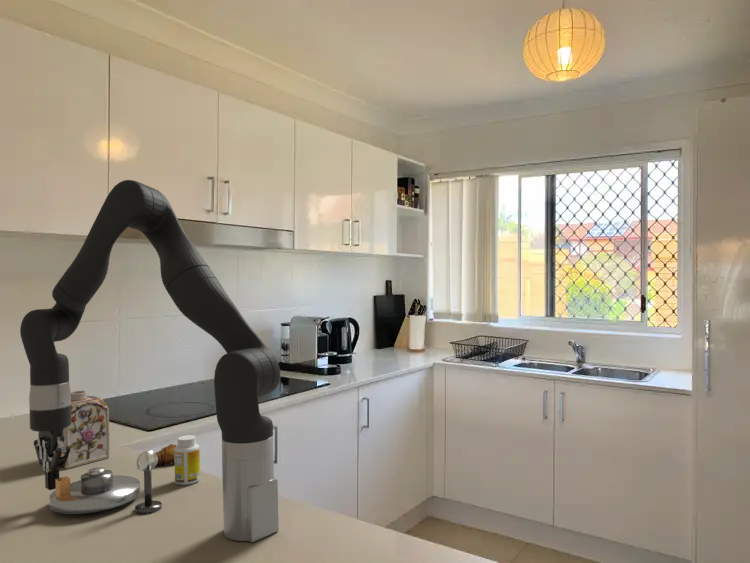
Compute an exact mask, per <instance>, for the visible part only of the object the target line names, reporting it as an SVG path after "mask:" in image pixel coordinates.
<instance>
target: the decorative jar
mask: <svg viewBox="0 0 750 563" xmlns="http://www.w3.org/2000/svg"><path fill="white" fill-rule="evenodd" d="M87 394H88V392H87V390H73V391H71V425H70V426H68V427H65V428H64V429H63V433H64V436H65V444H64V446H65V447H67V446H69V447H70V453H69V456H68V458H67V461H66V464H65V467H64V468H63V469H66V470H70V469H72V468H77V467H80V466H84V465H87V464H91V463H94V462H95V463H96V462H98V461H99V462H100V461H103V460H105V459H108V458H110V451H111V450H110V447H111V446H110V440H111V439H110V417H109V416H110V413H109V407H108V405H107V402H105V401H104V399H103V397H101V396H95V395H93V396H92V395H87Z"/></svg>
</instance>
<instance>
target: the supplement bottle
mask: <svg viewBox="0 0 750 563" xmlns="http://www.w3.org/2000/svg"><path fill="white" fill-rule="evenodd" d="M200 454H201V453H200V445H199V444H198V443H197V440H196V436H195V435H189V434H187V435H183V436H179V437H178V438H177V446H176V447H175V449H174V461H175V464H174V482H175V484H177V485H180V486H188V485H193V484H196V483H197V482H199V481H200V479H201V463H200V462H201V460H200V459H201V458H200V457H201V455H200Z"/></svg>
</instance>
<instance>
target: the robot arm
mask: <svg viewBox="0 0 750 563" xmlns="http://www.w3.org/2000/svg"><path fill="white" fill-rule="evenodd" d="M113 186H114V187H113V188H112V189H111V190H110V192H109V193H108V194H107V196H106V198H105V200H104V202H103V203H102V205H101V208H100V210H99V211H98V214H97V216H96V218H95V220H94V221H93V224H92V226H91V228H90V229H89V232H88V234H87V236H86V238H85V240H84V242H83V244H82V246H81V247H80V250H79V251H78V252H77V255H76V257H75V258H74V260H73V261H72V263H71V264H70V265H69V266H68V268H67V269H66V270H65V272H64V273H63V275H62V276H61V278H59V280H58V281H57V283H56V284H55V286H54V287H53V289H52V292H51V295H52V298H53V300H54V301H55V303H54V305H53V307H51V308H39V309H33V310H30V311H29V312H27V313H26V314H25V315H24V316H23V319H22V321H21V323H20V328H19V329H20V330H19V332H20V333H19V334H20V338H21V342H22V344H23V345H22V346H23V348H24V351H25V355H26V358H27V360H28V363H29V367H30V368H29V381H30V382H29V384H30V387H29V388H30V389H29V395H28V398H29V399H28V402H29V403H28V405H29V429H30V430H31V431H33V432H38V435H37V436H38V437H37V439H34V440H33V445H34V449H35V453H36V457H37V460H38V463H39V466H40V467H42V470H43V471H44V482H45V485H44V488H45V489H47V490H49V491H53V490H56V481H55V479H57V478H60V470H61V469H65V468H64V467H65V464H66V461H67V458H68V456H69V453H70V447H69V446H67V447H65V446H64V444H65V436H64V433H63V429H64V428H65V427H68V426H70V425H71V392H72V391H71V384H70V362H69V359H68V358H69V357H68V356H67V355H65V354H63V353H58V351H57V348H56V346H55V342H61V341H64V340H67V339H68V338H70V337H71V335H73V334H74V333H75V331H76V329H78V327H79V324H80V323H81V320H82V317H83V315H84V313H85V310H86V306H87V304H89V303H90V301H91V300H92V298H93V297H94V296H95V294H96V293H97V292H98V291H99V289H100V287H101V286H102V285H103V283H104V282H105V279H106V277H107V275H108V271H109V266H110V265H109V264H110V258H111V252H112V249H113V247H114V244H115V243H116V241H117V240H118V239H119V237H120V236H121V235H122V234H123V232H125V230H127V229H128V228H131V229H134V230H137V231H140V232H141V233H142V234H143V235H144V236H145V237H146V239H147V240H148V241H149V242H150V244H151V246H153V248H154V249H155V252H156V253H157V255H158V258H159V263H160V264H159V267H160V276H161V281H162V284H163V286H164V289H165V291H166V292H167V294H168V295H169V296H170V299H171V300H172V302H173V303H174V304H175V307H176V308H177V309H178V310H179V312H180V313H182V314H183V316H184V317H186V319H188V320H189V321H191V323H193V324H194V325H196V326H197V327H198V328H199V329H201V330H203V331H204V332H206V334H208V335H210V336H211V337H212V338H214V339H215V340H216V342H218V343H219V344H220V346H221V347H222V348H223V349H224V351H225V352H226V353H225V354H223V355H222V356H221V357H220V358H219V359H218V361H217V363H216V367H215V370H214V377H213V380H214V381H213V383H214V399H215V401H214V402H215V412H216V413H215V414H216V420H217V424H218V427H219V428H220V431H221V432H220V433H221V461H222V462H221V464H222V466H221V467H222V468H221V469H222V470H221V471H222V475H221V476H222V507H223V508H222V510H223V511H222V512H223V515H222V516H223V535H224V536H225V537H226V538H227V539H229V540H232V541H237V542H238V541H239V542H249V543H254V542H256V541H260V540H262V539H263V538H265V537H268V536H270V535H272V534H274V533H276V532H279V529H280V528H279V527H280V526H279V494H278V493H279V490H278V489H279V487H278V486H279V485H278V484H279V483H278V482H279V481H278V479H277V478H276V477H275V467H274V464H275V463H274V462H275V461H274V459H275V457H274V424H273V421H272V419H271V418H270V417H268V416H264V415H261V413H260V406H259V397H262V396H265V395H269V394H270V393H272V392H273V391H274V390H276V388H278V385H279V384H280V380H281V368H280V366H279V362H278V360H277V357H275V355H274V354H273V352H272V351H271V349H270V348H269V347H268V346H267V344H265V342H264V341H263V339H261V338H260V337H259V335H258V334H257V333H256V332H255V330H254V329H253V328H252V327H251V326H250V325H249V323H248V322H247V321H246V320H245V318H244V316H243V315H242V314H241V312H240V311H239V309H238V308H237V307H236V305H235V303H234V302H233V300H232V299H231V298H230V297H229V295H228V294H227V292H226V290H225V289H224V288H223V286H222V284H221V282H220V281H219V279H218V277H217V276H216V275H215V273H214V272H213V270H212V269H211V268H210V266H209V265H208V263H207V262H206V261H205V260H204V259H205V258H203V256H202V255H201V254H200V251H199V250H198V248H196V246H195V245H194V243H193V242H192V241H191V239H190V238H189V237H188V235H187V233H186V232H185V230H184V228H183V226H182V225H181V223H180V221H179V219H178V217H177V215H176V213H175V210H174V209H173V207H172V205H171V203H170V201H169V199H168V198H167V197H166V196H165V195H164V194H163V193H162V192H161V191H160V190H158V189H156V188H155V187H151V186H149V185H147V184H144V183H141V182H140V181H136V180H134V179H126V180H121V181H119V182H118V183H117V184H115V185H113Z"/></svg>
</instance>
